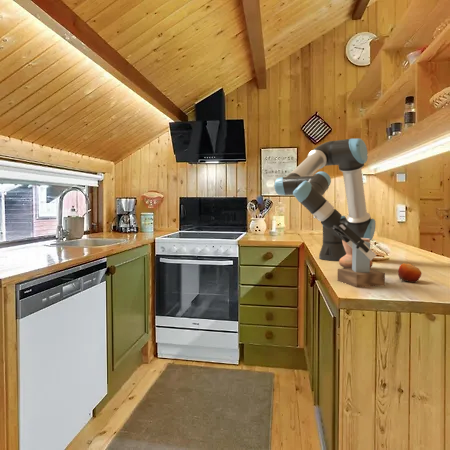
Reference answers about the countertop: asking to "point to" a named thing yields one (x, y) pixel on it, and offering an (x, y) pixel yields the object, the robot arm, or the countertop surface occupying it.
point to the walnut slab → (361, 278)
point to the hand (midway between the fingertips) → (367, 255)
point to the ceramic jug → (350, 255)
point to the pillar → (360, 259)
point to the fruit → (409, 273)
